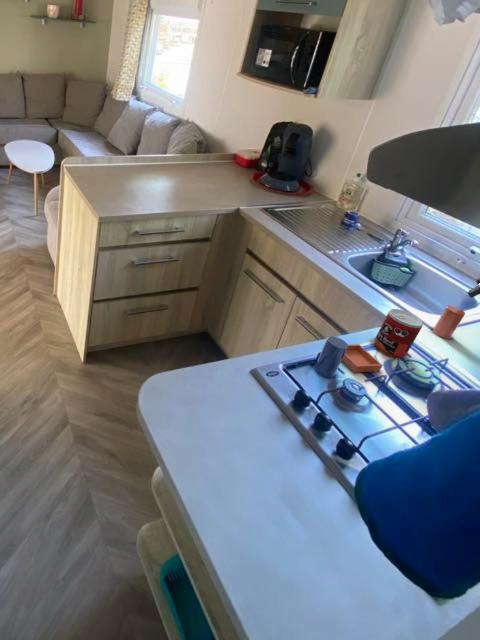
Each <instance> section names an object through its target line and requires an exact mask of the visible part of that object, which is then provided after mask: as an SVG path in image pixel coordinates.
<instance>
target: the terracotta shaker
mask: <svg viewBox="0 0 480 640" xmlns="http://www.w3.org/2000/svg"><path fill="white" fill-rule="evenodd" d="M465 315H466V312H465V311H464V310H462V309H461V308H459V307H457V306H454V305H450V304H449V305H446V306H445V308H444V310H443V311H442V312H441V315H440V317H439V318H438V320H437V321H436V323H435V325H434V326H433V329H432V332H433V333H434V334H435V335H436V336H439V337H440V338H443V339H447V340H450V339H451V338H452V337H453V336H454V333H455V332H456V330H457V328H458V327H459V325H460V324H461V322H462V320H463V318H464V317H465Z"/></svg>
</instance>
